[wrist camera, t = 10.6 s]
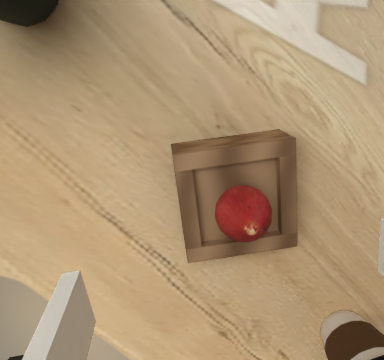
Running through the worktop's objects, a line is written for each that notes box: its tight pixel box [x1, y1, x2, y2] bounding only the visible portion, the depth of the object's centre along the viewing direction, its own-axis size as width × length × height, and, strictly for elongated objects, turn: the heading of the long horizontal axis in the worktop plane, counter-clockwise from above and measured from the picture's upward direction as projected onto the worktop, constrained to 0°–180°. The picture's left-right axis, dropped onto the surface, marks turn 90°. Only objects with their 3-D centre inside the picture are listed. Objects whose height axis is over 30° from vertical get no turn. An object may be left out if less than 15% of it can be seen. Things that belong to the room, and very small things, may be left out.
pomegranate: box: [215, 185, 272, 242], centre depth 35 cm, size 6×6×8 cm
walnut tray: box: [171, 129, 297, 263], centre depth 40 cm, size 13×13×5 cm
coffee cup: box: [321, 310, 384, 360], centre depth 46 cm, size 11×11×12 cm
